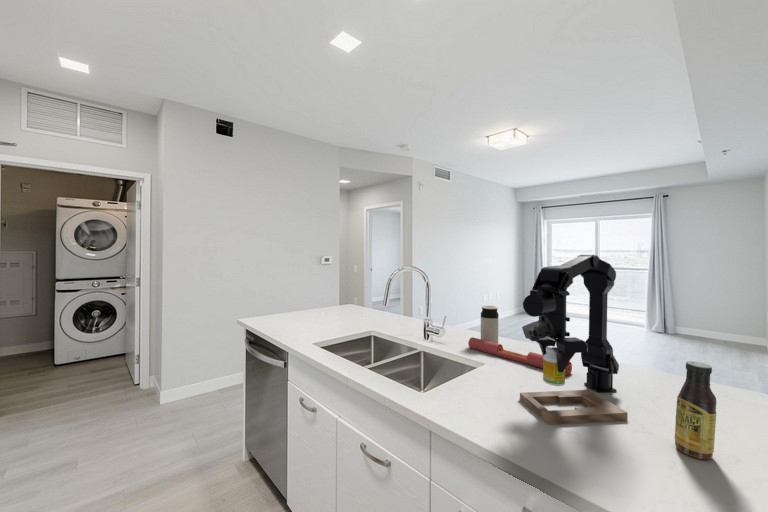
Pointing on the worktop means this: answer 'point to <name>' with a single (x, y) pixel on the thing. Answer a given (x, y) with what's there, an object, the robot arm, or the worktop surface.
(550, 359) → the supplement bottle
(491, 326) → the travel mug
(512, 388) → the worktop surface
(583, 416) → the brown wooden frame
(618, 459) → the worktop surface
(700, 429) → the sauce bottle
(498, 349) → the blood vessel
